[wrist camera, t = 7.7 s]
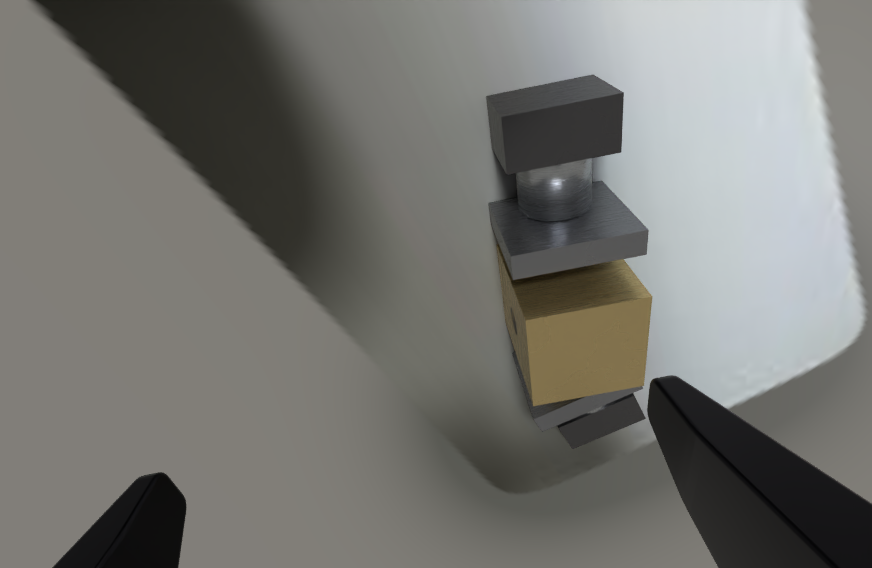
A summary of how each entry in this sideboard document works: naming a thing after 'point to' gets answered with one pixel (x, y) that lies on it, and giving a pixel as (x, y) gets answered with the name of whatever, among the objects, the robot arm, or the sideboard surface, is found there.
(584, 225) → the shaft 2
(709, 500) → the robot arm
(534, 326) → the block
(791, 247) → the sideboard surface
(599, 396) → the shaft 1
